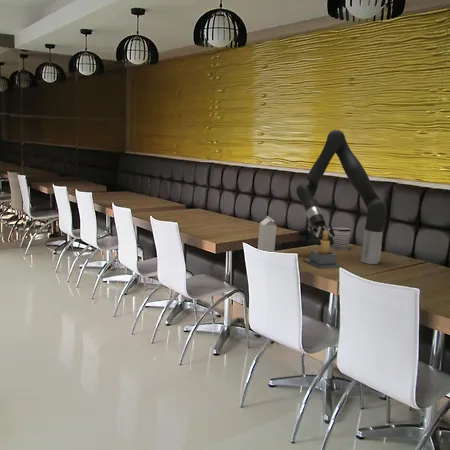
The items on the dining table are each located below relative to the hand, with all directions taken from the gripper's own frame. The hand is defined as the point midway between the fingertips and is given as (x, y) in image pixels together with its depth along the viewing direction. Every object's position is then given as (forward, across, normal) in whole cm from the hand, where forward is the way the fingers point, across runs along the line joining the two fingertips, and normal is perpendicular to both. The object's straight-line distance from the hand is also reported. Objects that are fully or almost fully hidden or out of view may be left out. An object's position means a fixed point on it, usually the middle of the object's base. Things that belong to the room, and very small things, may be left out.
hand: (326, 244), depth 263 cm
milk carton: (-14, -17, +29) cm, 36 cm away
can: (-16, +34, +31) cm, 49 cm away
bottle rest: (+6, 0, +9) cm, 11 cm away
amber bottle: (+5, 0, +8) cm, 10 cm away
